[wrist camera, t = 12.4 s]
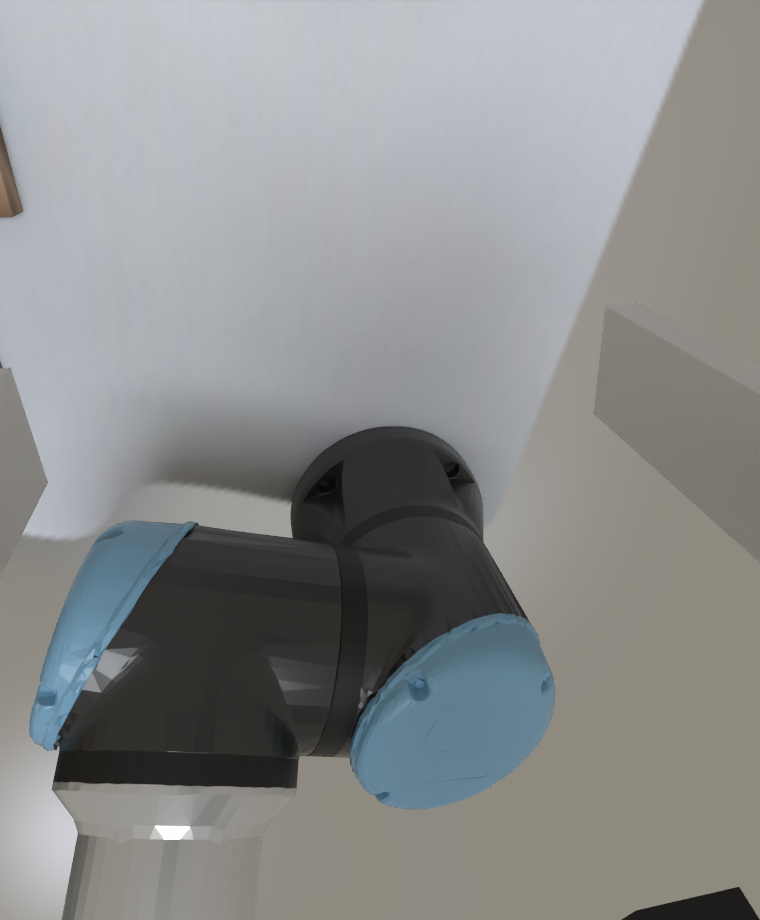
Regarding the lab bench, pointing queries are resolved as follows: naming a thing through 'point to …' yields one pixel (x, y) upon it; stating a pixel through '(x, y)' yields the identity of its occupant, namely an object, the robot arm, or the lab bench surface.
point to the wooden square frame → (7, 186)
